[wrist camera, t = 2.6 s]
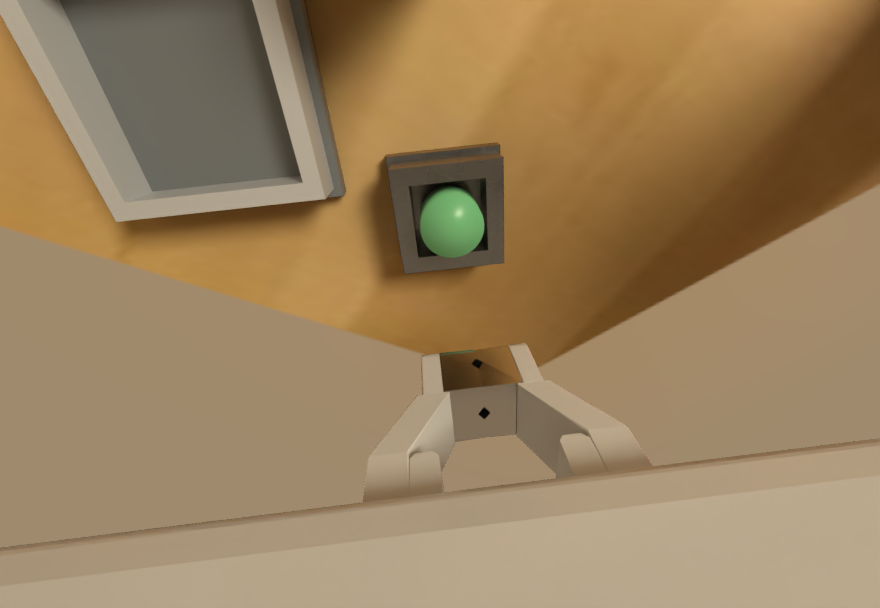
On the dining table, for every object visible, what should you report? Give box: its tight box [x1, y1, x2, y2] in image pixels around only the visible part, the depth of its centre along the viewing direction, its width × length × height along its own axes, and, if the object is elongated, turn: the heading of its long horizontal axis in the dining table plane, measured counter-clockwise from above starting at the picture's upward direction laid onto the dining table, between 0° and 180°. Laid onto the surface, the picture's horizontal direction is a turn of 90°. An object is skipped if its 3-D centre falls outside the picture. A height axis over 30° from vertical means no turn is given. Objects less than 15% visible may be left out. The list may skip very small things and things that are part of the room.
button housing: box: [385, 143, 504, 274], centre depth 23 cm, size 7×7×4 cm
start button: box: [420, 185, 484, 258], centre depth 22 cm, size 4×4×2 cm
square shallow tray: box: [0, 0, 346, 222], centre depth 19 cm, size 13×13×4 cm
